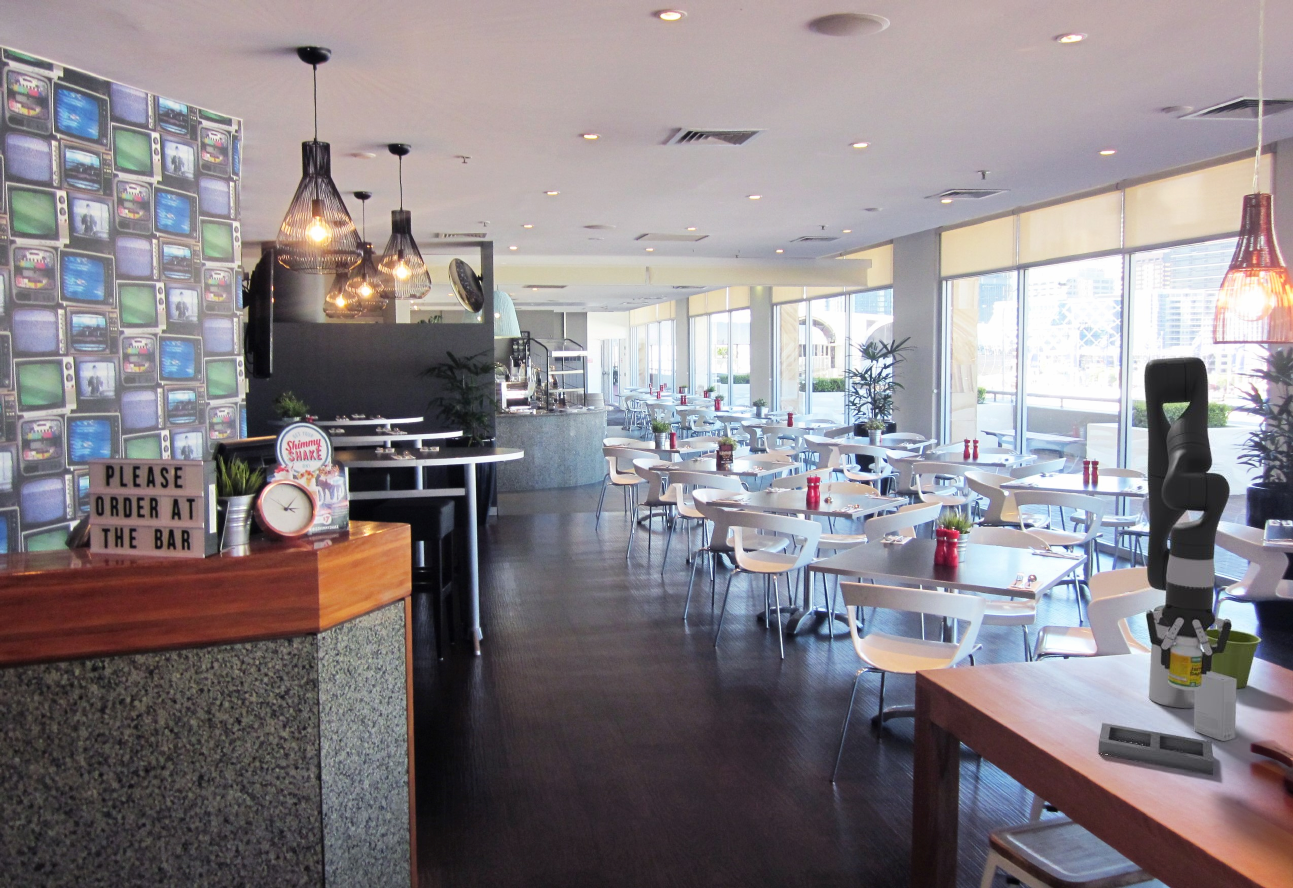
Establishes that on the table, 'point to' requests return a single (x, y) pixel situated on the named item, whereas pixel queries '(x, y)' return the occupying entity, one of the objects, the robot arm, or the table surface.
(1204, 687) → the skincare box
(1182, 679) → the supplement bottle
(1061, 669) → the table surface
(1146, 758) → the rail
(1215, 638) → the plant pot
